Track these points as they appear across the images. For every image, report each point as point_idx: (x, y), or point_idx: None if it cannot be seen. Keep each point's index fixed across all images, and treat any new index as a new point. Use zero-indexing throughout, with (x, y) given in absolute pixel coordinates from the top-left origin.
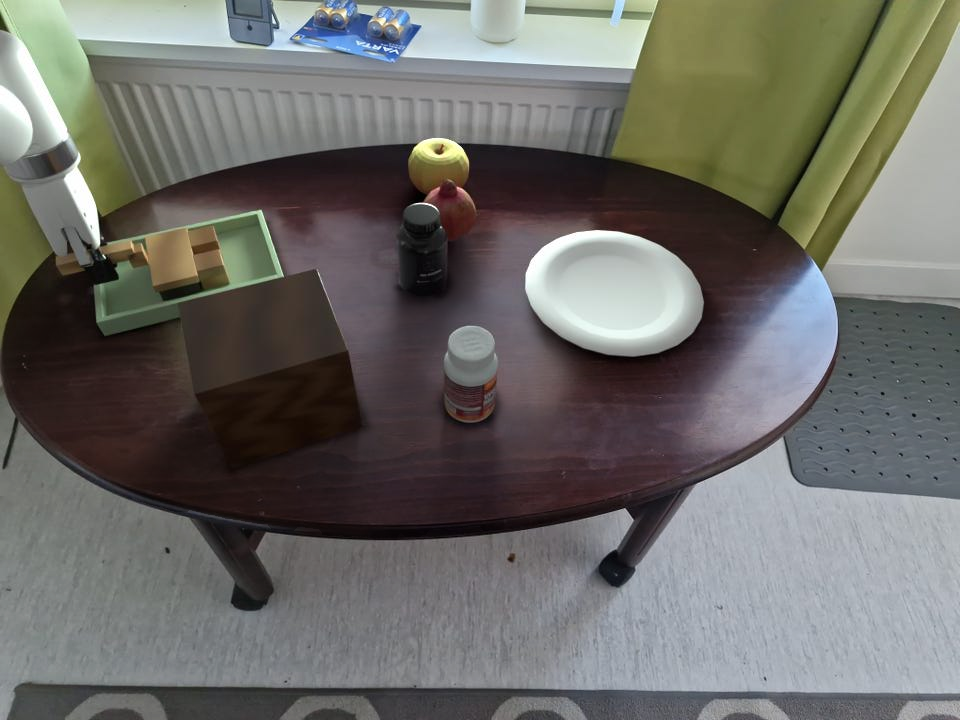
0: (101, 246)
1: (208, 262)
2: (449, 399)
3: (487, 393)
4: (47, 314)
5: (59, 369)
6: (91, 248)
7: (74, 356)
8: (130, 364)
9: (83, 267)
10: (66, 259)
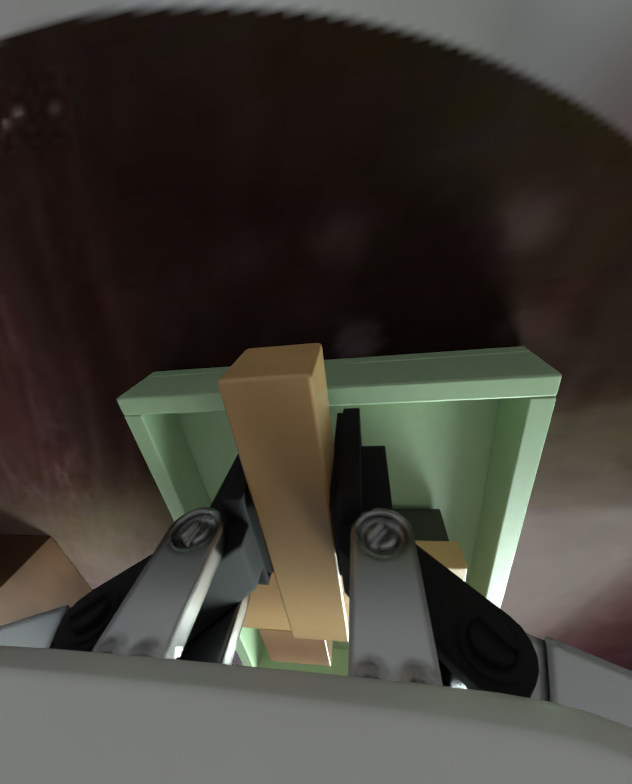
0: (340, 568)
1: (285, 647)
2: None
3: None
4: (267, 172)
5: (22, 253)
6: (337, 536)
7: (76, 294)
8: (70, 423)
9: (232, 474)
10: (265, 435)
